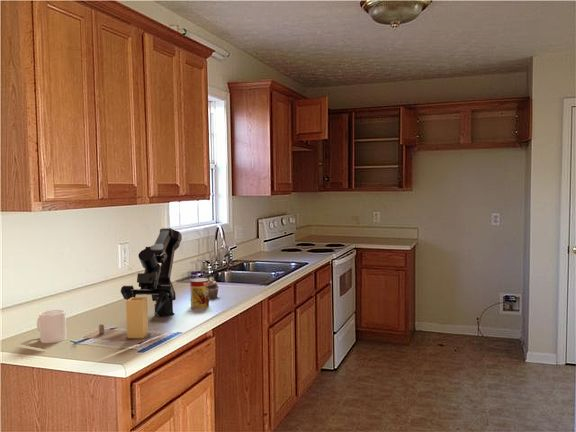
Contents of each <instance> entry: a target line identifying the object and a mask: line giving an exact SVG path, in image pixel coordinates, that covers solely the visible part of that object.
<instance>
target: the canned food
mask: <svg viewBox="0 0 576 432" xmlns="http://www.w3.org/2000/svg"><path fill="white" fill-rule="evenodd" d="M206 278H207V277H206ZM206 278H203V277H196V278H191V279H190V280H189V286H190V291H189V292H190V308H191V309H197V310H198V309H206V308H209V306H210V299H209V291H208V279H206Z"/></svg>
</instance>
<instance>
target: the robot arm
mask: <svg viewBox="0 0 576 432" xmlns="http://www.w3.org/2000/svg"><path fill="white" fill-rule="evenodd" d="M181 242H182V233H181V232H180V231H178V230H175V229H173V228H170V227H162V228H160V230H159V234H158V236H157V238H156V240H155V242H154V244H153V245H151V246H145V249H142V250H141V251H139V253H138V255H137V256H138V258H139V261H140V263H141V266H142V268H143V269H144V272H141V273H140V272H139V273H137V277H136V283H138V287H139V288H135V287H134V285H123V286H121V288H120V294H121V295H122V297H123V299H124V300H126V301H127V300H128V299H130V298H131V297H136V295H137V296H138V295H139V296H140V295H141V296H142V295H148V296H149V295H150V296H151V300H152V302H155V303H154V315H155V316H157V317H160V318H162V317H167V316H173V315H175V314H176V313H175V312H174V307H173V305H174V304H173V301H175V300H177V299H176V292H175V288H174V285H173V283H172V280H171V277H172V276H171V274H172V269H173V263H174V257H175V252H176V250H177V249H179V247H180V244H181Z"/></svg>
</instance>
